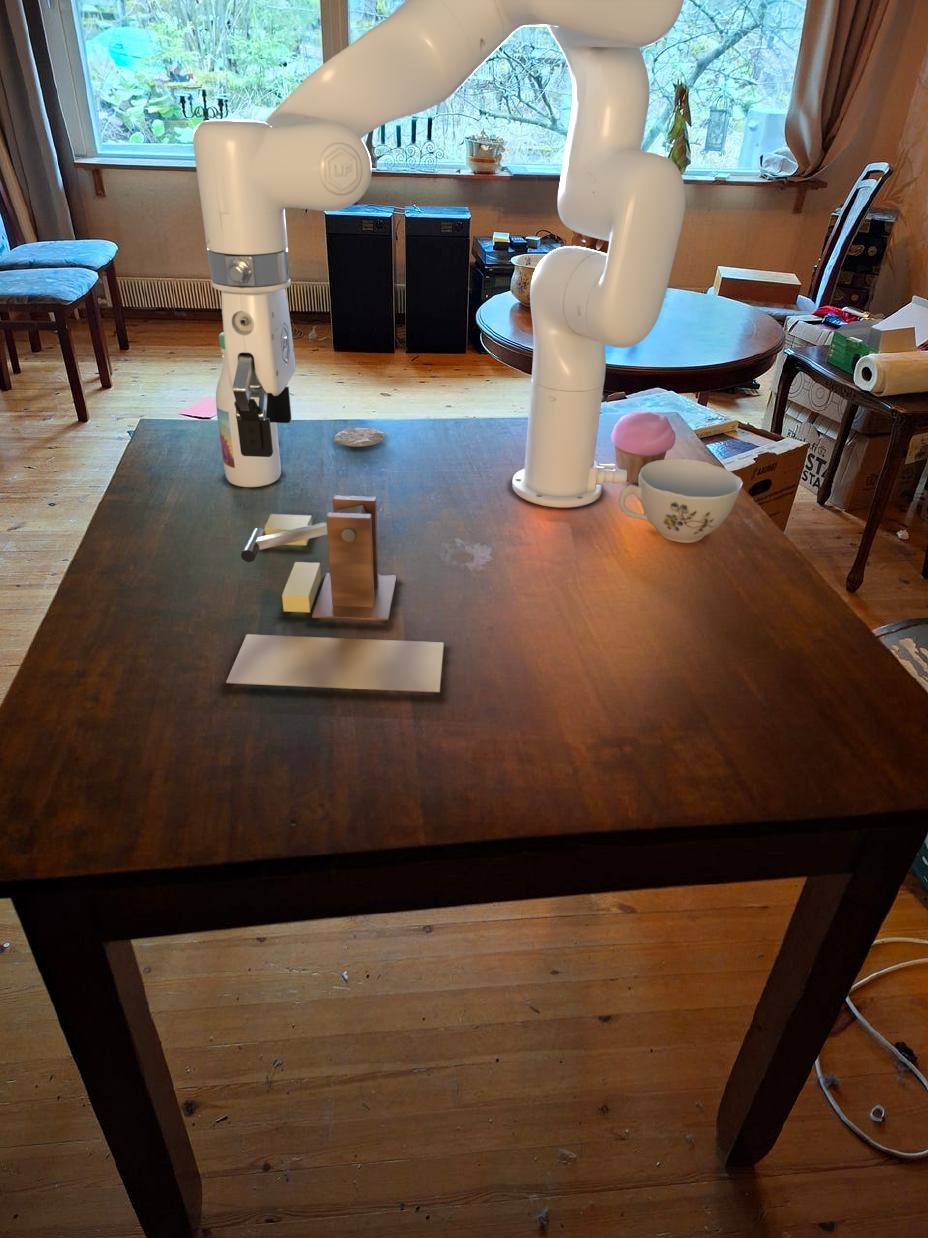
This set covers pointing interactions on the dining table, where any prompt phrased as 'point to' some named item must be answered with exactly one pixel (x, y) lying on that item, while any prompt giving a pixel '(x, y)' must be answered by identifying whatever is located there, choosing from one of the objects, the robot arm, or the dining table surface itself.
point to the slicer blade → (288, 535)
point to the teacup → (683, 497)
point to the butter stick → (301, 587)
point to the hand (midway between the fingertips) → (267, 437)
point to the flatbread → (359, 437)
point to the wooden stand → (354, 566)
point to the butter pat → (287, 525)
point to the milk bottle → (235, 464)
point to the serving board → (338, 663)
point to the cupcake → (641, 441)
